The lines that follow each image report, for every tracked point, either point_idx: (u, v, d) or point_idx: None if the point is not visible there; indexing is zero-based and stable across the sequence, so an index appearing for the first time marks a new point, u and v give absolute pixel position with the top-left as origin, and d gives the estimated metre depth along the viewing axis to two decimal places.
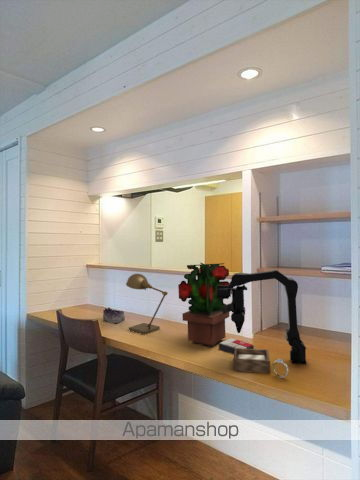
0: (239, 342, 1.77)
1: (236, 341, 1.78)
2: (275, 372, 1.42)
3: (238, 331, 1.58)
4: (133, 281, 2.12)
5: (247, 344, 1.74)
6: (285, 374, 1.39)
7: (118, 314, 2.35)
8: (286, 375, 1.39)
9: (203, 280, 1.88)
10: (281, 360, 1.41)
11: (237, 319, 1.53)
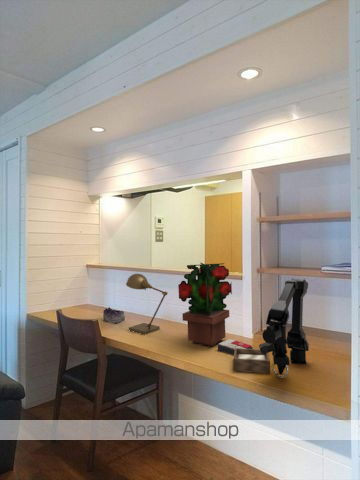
0: (238, 343, 1.75)
1: (235, 342, 1.77)
2: (275, 372, 1.42)
3: (280, 373, 1.39)
4: (133, 281, 2.12)
5: (246, 345, 1.72)
6: (285, 374, 1.39)
7: (118, 314, 2.35)
8: (286, 375, 1.39)
9: (203, 280, 1.88)
10: None
11: (281, 363, 1.32)
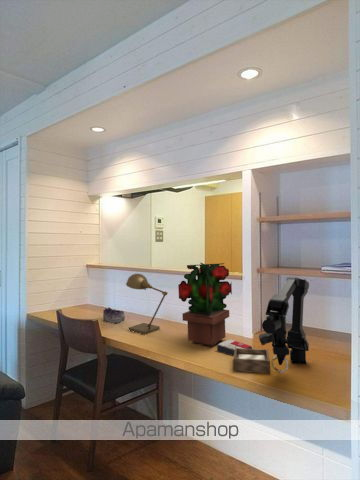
0: (237, 343, 1.75)
1: (234, 342, 1.76)
2: None
3: (280, 363, 1.39)
4: (133, 281, 2.12)
5: (245, 345, 1.72)
6: (285, 369, 1.39)
7: (118, 314, 2.35)
8: (286, 369, 1.39)
9: (203, 280, 1.88)
10: None
11: (281, 353, 1.32)
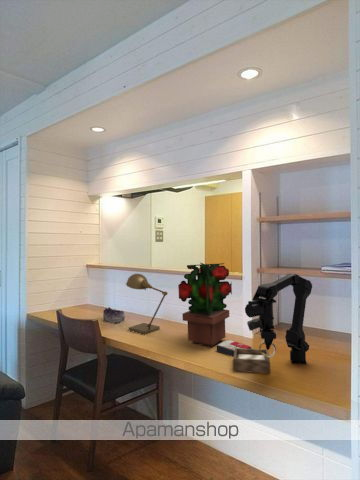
0: (237, 344, 1.74)
1: (234, 343, 1.75)
2: (262, 352, 1.47)
3: (267, 348, 1.44)
4: (133, 281, 2.12)
5: (245, 346, 1.71)
6: (273, 353, 1.45)
7: (118, 314, 2.35)
8: (273, 354, 1.45)
9: (203, 280, 1.88)
10: None
11: (268, 337, 1.37)
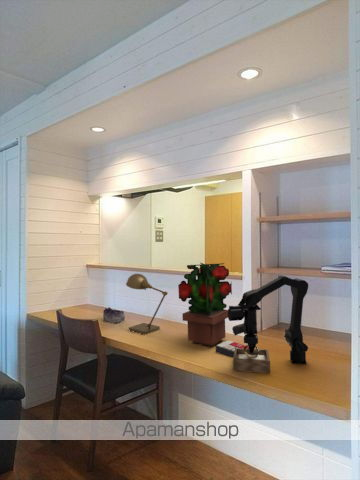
0: (236, 344, 1.73)
1: (233, 343, 1.75)
2: (247, 354, 1.55)
3: (251, 352, 1.53)
4: (133, 281, 2.12)
5: (244, 346, 1.70)
6: (256, 355, 1.53)
7: (118, 314, 2.36)
8: None
9: (203, 280, 1.88)
10: None
11: (250, 342, 1.45)
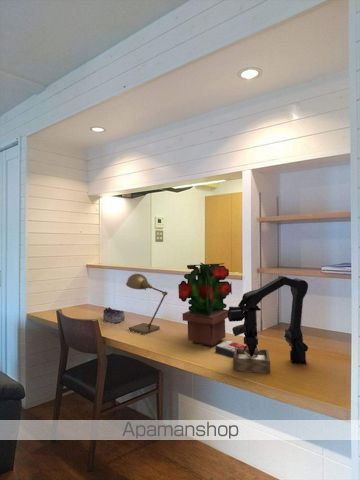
0: (236, 345, 1.73)
1: (233, 344, 1.74)
2: (247, 354, 1.55)
3: (251, 354, 1.50)
4: (133, 281, 2.12)
5: None
6: (256, 355, 1.53)
7: (118, 314, 2.36)
8: None
9: (203, 280, 1.88)
10: None
11: (250, 343, 1.45)
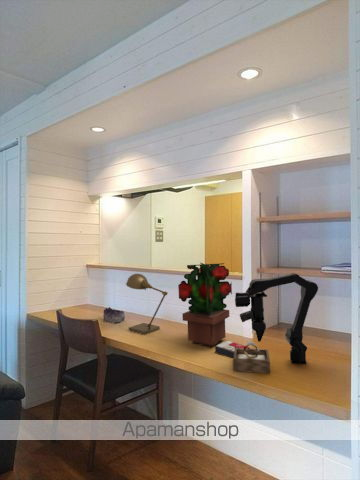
0: (236, 345, 1.73)
1: (233, 344, 1.74)
2: (247, 354, 1.55)
3: (259, 340, 1.53)
4: (133, 281, 2.12)
5: None
6: (256, 355, 1.53)
7: (118, 314, 2.36)
8: None
9: (203, 280, 1.88)
10: (252, 342, 1.54)
11: (258, 327, 1.49)
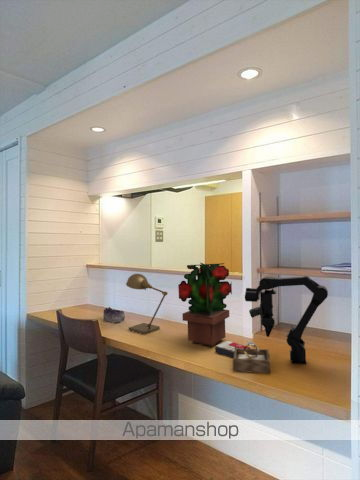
0: (236, 345, 1.73)
1: (233, 344, 1.74)
2: (247, 354, 1.55)
3: (267, 335, 1.58)
4: (133, 281, 2.12)
5: None
6: (256, 355, 1.53)
7: (118, 314, 2.36)
8: None
9: (203, 280, 1.88)
10: (252, 342, 1.54)
11: (267, 323, 1.54)
